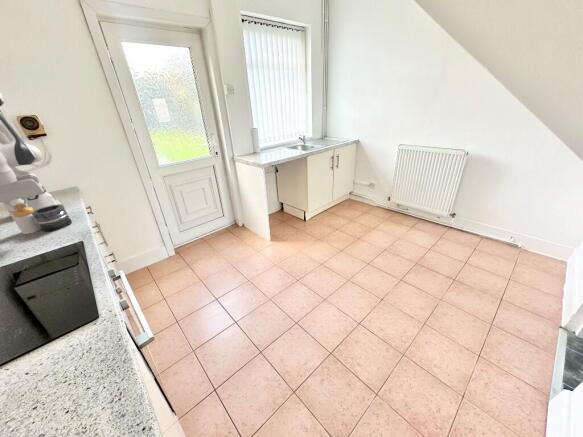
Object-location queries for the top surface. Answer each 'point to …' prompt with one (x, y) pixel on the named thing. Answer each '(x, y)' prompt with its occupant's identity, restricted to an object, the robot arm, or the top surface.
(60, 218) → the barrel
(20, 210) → the cap
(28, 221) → the cylindrical container
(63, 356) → the top surface
